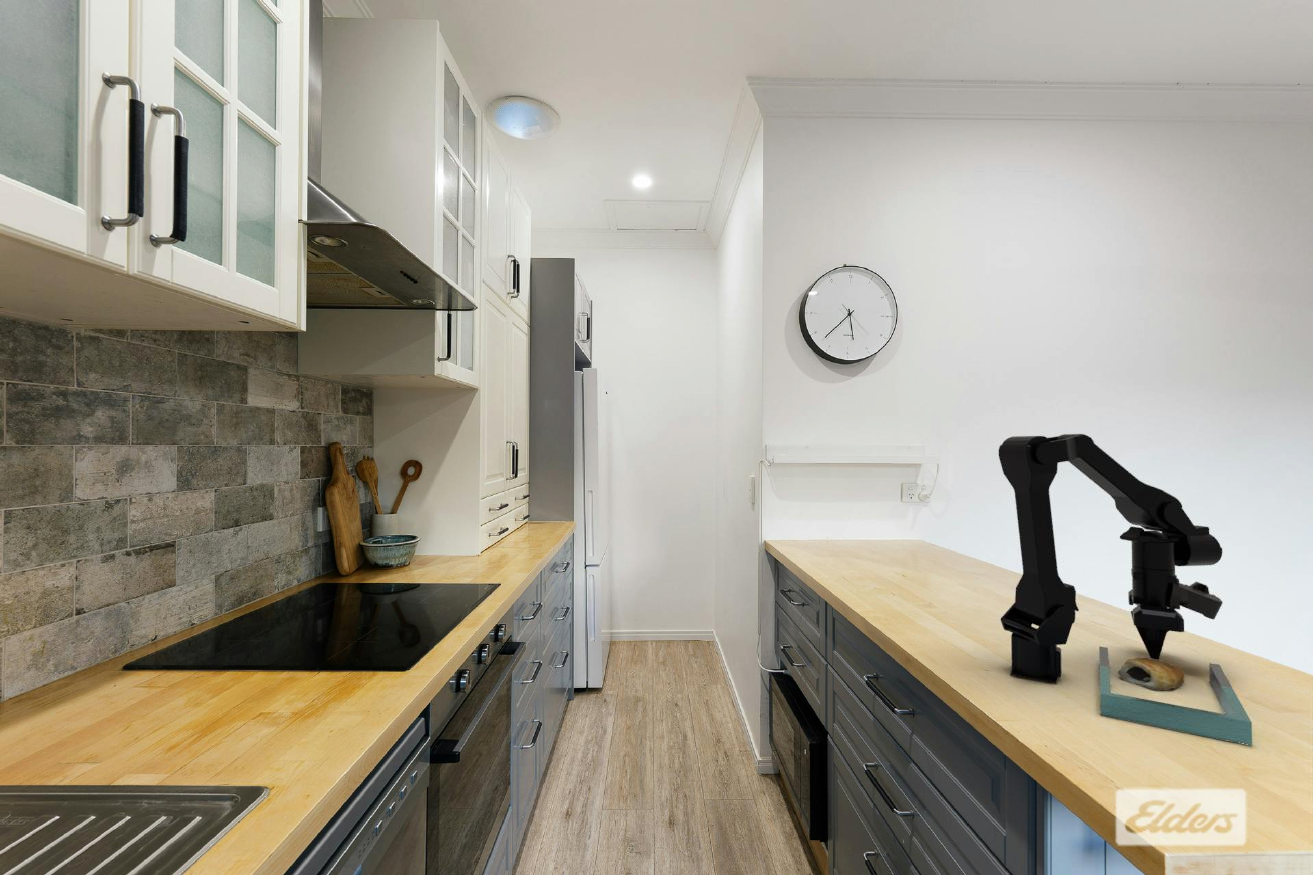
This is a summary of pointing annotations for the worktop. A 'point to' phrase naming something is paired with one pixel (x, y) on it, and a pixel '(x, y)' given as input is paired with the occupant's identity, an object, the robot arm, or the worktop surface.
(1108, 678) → the rail pocket
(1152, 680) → the pastry
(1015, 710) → the worktop surface
